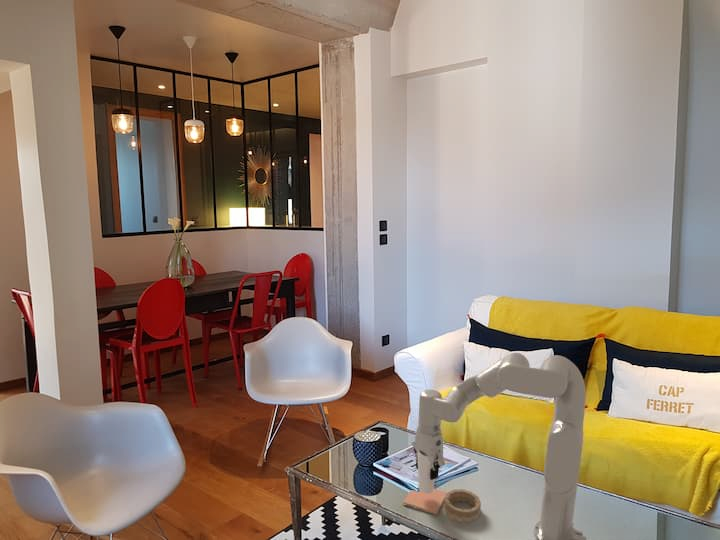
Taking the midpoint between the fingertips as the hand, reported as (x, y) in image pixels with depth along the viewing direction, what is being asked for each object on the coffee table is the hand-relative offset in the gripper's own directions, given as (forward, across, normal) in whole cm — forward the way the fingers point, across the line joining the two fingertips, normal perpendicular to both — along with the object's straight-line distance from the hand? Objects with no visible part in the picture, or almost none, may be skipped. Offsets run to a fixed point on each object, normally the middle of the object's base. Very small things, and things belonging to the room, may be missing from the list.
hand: (426, 472), depth 193 cm
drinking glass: (+7, 0, 0) cm, 7 cm away
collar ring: (+11, -11, -6) cm, 17 cm away
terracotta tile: (+11, 0, 0) cm, 11 cm away
